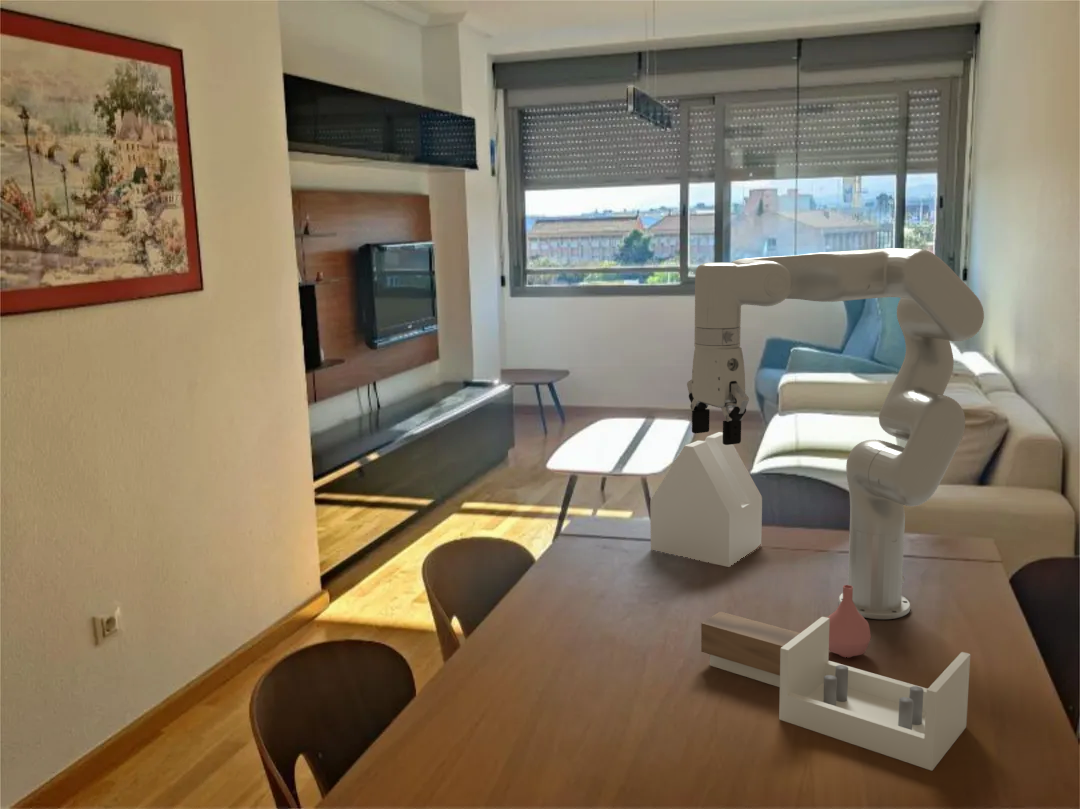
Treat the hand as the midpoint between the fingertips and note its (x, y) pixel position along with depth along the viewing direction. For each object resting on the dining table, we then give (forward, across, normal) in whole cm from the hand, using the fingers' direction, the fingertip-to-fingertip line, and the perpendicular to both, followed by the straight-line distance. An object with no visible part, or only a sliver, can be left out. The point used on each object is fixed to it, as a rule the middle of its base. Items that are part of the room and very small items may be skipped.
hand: (715, 438), depth 165 cm
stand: (+36, -36, -5) cm, 50 cm away
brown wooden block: (+33, -15, +2) cm, 36 cm away
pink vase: (+36, -16, -16) cm, 42 cm away
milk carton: (+36, +40, -23) cm, 58 cm away
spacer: (+36, -15, +2) cm, 39 cm away
